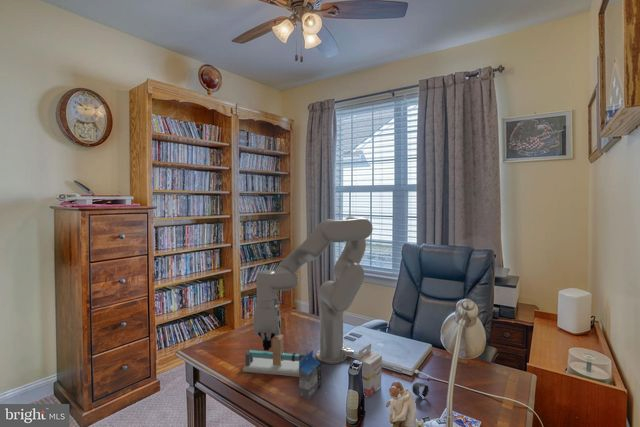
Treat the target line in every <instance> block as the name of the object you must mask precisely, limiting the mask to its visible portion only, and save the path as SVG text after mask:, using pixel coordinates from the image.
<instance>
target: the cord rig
mask: <svg viewBox="0 0 640 427" xmlns="http://www.w3.org/2000/svg"><path fill="white" fill-rule="evenodd" d="M307 354H309V352H308V350H303V349H301V350H300V352H299V353H297V352H292V353H287V352H284V353H281V359H284V360H283V361H281V366H278V365H273V351H267V350H254V349H248V352H247V353H245V354H244V355H245V365H244V366H243V368H242V372H247V373H256V374H266V375H276V376H288V377H299V361H300V360H301V359H302V358H304V357H305V356H306V355H307ZM307 359H308V358H306V359H305V360H304V362H305V361H306V360H307Z"/></svg>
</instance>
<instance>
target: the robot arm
mask: <svg viewBox="0 0 640 427" xmlns="http://www.w3.org/2000/svg"><path fill="white" fill-rule="evenodd" d="M373 229H374V228H373V224H372V222H371V221H370V220H369V219H367V218H365V217H360V216H356V215H355V216H353V215H352V216H348V217H346V218H345V219H341V220H340V219H339V220H336V219H331V218H326V219H323V220H322V221H320V223H318V225H317V226H316V227H315V228H314V229H313V231H311V233H309V235H308V236H307V237H306V239H305V240H304V241H303V242H302V243H301V244H300V245H299V246H297V247H296V248H295V249H293V251H290V252H289V254H287V255H286V256H285V258H284V259H282V261H281V262H279V265H277V267H276V268H275V270H272V269H263V270H260V271H257V273H256V276H255V277H256V280H255V281H256V282H255V283H256V305H255V307H254V312H253V321H252V323H253V324H252V327H253V334H254V335H257V336H259V337H260V339H261V341H262V348H263V351H266V352H269V351H270V349H271V348H272V340H273V338H274V337H275V336H279V335H280V334H281V333H282V332H281V329H282V318H281V311H280V306H279V305H280V303H281V301H280V300H278V298H277V291H292V290H293V289H295V287H297V285H298V278H297V275H296V274H295V273H296V272H297V271H298V270H299V269H300V268H301V267H302V266H303V265H305V264H307V263H308V262H312V261H315V260H317V259H318V258H319V257H320V256H321V255H322V253H324V252H325V250H326V249H327V248H328V247H329V246H330V245H331V243H345V245H344V248H343V250H342V251H341V254H340V255H339V257H338V259H337V261H336V263H335V265H334V266H333V270H332V271H333V272H332V273H333V276H334V277H335V278H336V279H338V280H337V281H335V280H326V281H324V282H323V283H322V284H321V285H320V287H319V291H318V302H319V313H320V315H319V327H320V328H319V330H320V331H319V336H320V337H319V350H317V351H316V355H315V356H316V360H317V361H319V362H320V363H324V364H331V365H336V364H340V363H342V362H345V361H346V359H347V356H353V357H354V354H355V351H354V350H352V347H348V348H347V347H345V343H344V312H346V311H347V310H348V309H349V308H350V306H351V305H352V304H353V302H354V300H355V298H356V297H357V294H358V293H359V291H360V289H361V288H362V285H363V283H364V279H365V270H364V268H363V266H361V264H360V263H361V262H362V259H363V257H364V254H365V253H366V246H367V245H366V244H367V243H366V239H368V238H369V237H370V236H371V235H372V233H373ZM281 335H282V334H281Z"/></svg>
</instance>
